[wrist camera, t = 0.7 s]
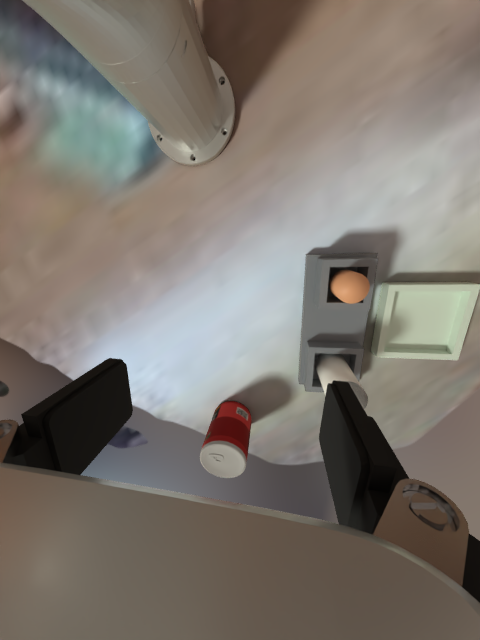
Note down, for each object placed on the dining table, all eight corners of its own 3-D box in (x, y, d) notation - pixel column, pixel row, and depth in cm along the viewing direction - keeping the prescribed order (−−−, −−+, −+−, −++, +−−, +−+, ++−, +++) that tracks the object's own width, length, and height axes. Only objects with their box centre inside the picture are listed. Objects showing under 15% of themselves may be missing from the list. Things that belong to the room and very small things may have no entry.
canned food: (213, 399, 47) (196, 442, 37) (251, 400, 46) (245, 445, 36) (216, 428, 49) (201, 476, 39) (252, 430, 48) (247, 480, 38)
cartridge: (316, 350, 39) (330, 383, 30) (346, 351, 38) (370, 385, 29) (313, 375, 41) (326, 414, 31) (343, 376, 40) (364, 417, 30)
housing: (306, 254, 36) (311, 256, 31) (373, 253, 34) (391, 254, 29) (298, 379, 43) (301, 398, 38) (353, 382, 42) (365, 401, 36)
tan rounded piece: (330, 269, 32) (338, 272, 28) (360, 269, 32) (371, 272, 28) (327, 297, 33) (334, 303, 30) (356, 297, 33) (367, 303, 29)
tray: (382, 282, 35) (389, 284, 33) (467, 281, 34) (481, 284, 32) (370, 351, 39) (376, 357, 37) (447, 353, 38) (457, 360, 35)
